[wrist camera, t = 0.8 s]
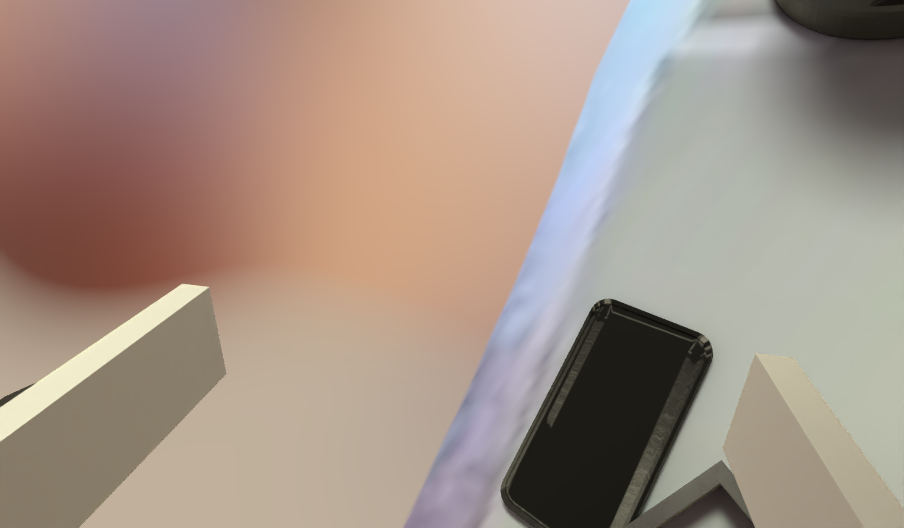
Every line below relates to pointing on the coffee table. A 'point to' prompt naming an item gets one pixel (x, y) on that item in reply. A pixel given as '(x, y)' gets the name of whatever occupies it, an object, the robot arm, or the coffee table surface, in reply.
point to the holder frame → (691, 497)
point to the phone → (607, 420)
